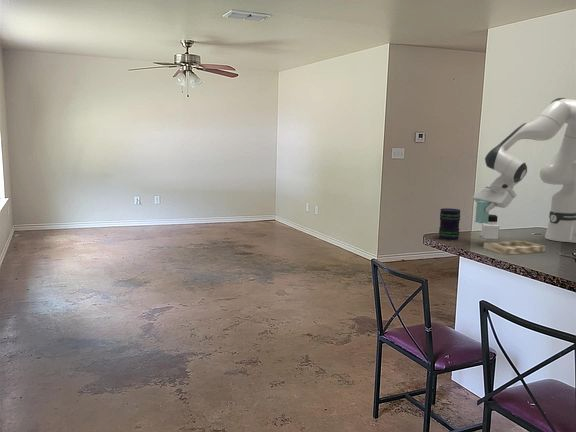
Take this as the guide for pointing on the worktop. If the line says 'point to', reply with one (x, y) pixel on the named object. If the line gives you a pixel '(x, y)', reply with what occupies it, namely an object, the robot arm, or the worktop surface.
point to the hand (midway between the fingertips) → (481, 210)
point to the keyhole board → (514, 247)
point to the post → (482, 212)
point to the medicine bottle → (490, 228)
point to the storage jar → (449, 224)
